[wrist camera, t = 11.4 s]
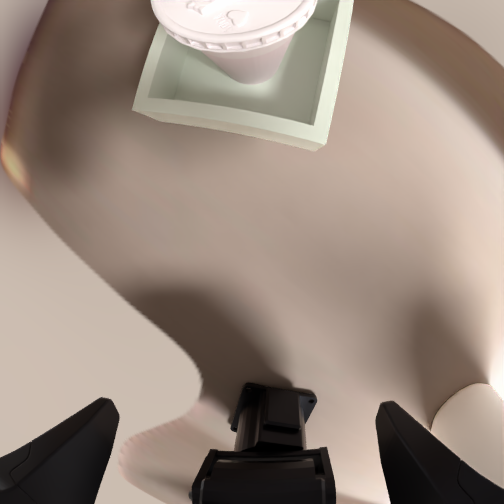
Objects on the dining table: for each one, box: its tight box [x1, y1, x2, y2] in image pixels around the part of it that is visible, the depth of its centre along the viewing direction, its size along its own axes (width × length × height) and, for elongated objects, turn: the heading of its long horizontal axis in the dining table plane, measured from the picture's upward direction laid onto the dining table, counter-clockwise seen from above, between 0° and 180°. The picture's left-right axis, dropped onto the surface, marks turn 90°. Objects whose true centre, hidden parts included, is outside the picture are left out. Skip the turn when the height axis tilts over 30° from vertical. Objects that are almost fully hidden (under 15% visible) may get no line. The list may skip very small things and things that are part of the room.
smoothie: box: [151, 0, 317, 85], centre depth 9 cm, size 6×6×14 cm
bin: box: [132, 0, 354, 152], centre depth 15 cm, size 11×11×4 cm
